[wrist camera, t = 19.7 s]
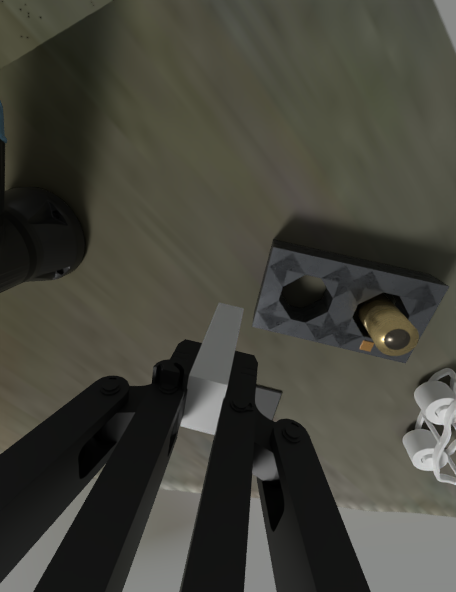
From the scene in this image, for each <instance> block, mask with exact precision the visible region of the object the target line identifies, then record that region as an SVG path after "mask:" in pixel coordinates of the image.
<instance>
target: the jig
mask: <svg viewBox="0 0 456 592" xmlns="http://www.w3.org/2000/svg"><path fill="white" fill-rule="evenodd" d="M304 275H310V276H314V277H319V278H321V279H322V280H323V282H324V284H325V286H326V290H325V293H324V295H323V298H322V299H320V300H318V301H316V302H314V303H312V304H310V305H308V306H306V307H304V308H298V307H294V306H290V305H289V304H288V303H287V301H286V300H285V298H284V296H283V295H282V293H281V291H282V288H283V286H285V285H287V284H289V283H291V282H293V281H295V280H296V279H298V278H300V277H302V276H304ZM448 288H449V286H448V285H446V284H444V283H443V282H441V281H440V280H438V279H437V278H435V277H434V276H432V275H430V274H426V273H422V272H417V271H413V270H408V269H404V268H399V267H395V266H390V265H386V264H381V263H377V262H372V261H368V260H363V259H359V258H354V257H350V256H345V255H341V254H336V253H332V252H328V251H323V250H319V249H314V248H310V247H305V246H301V245H296V244H292V243H287V242H283V241H278V240H274V239H273V242H272V246H271V249H270V253H269V257H268V261H267V265H266V269H265V273H264V276H263V280H262V284H261V288H260V292H259V296H258V299H257V303H256V307H255V311H254V317H253V325H252V327H256V328H260V329H265V330H269V331H273V332H277V333H281V334H285V335H290V336H294V337H298V338H302V339H306V340H310V341H315V342H319V343H323V344H327V345H331V346H335V347H340V348H344V349H348V350H352V351H356V352H360V353H365V354H369V355H373V356H377V357H381V358H385V359H390V360H394V361H398V362H402V363H406V362H407V360H408V358H409V356H410V355H411V353H412V351H413V349H414V348H415V347H414V348H413V349H412V350H411V351H410V352H408V353H406V354H403V355H400V356H389V355H386V354H384V353H382V352H381V351H379V349H378V348H377V347H376V345H375V343H374V342H373V340H372V338H371V337H370V335H369V333H368V331H367V330H366V328H365V326H364V325H363V323H362V322H358V321H354V319H353V318H352V317H353V315H354V312H355V310H356V308H357V305H358V304H360V303H362V302H364V301H366V300H368V299H370V298H372V297H375V296H377V295H379V294H381V293H383V292H384V293H389V294H392V295H393V297H394V299H395V301H396V302H395V304H394V305H395V306H396V307H397V308H398V309H399V310H400V312H401V313H402V314H403V315H404V316H405V317H406V318H407V319H408V320H409V321H410V322H411V323H412V325H413V326H414V327H415V328H416V329H417V331H418V333H419V339H420V337H421V335H422V333H423V332H424V330H425V328H426V326H427V325H428V323H429V321H430V319H431V318H432V316H433V314H434V312H435V311H436V309H437V307H438V305H439V304H440V302H441V300H442V298H443V296H444V295H445V293H446V291H447V289H448ZM418 341H419V340H418Z"/></svg>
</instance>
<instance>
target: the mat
mask: <svg viewBox="0 0 456 592" xmlns="http://www.w3.org/2000/svg"><path fill="white" fill-rule="evenodd" d="M280 397H281V392H280V391H276V390H272V389H268V388H264V387H260V386H256V393H255V404H256V406H257V408H258V410H259V411H260V412H261V413H262V414H263V415H264V416H265V417H267V418H268V419H270V420H272V419H273V416H274V413H275V411H276V408H277V405H278V402H279V399H280Z"/></svg>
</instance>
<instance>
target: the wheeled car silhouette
mask: <svg viewBox="0 0 456 592" xmlns="http://www.w3.org/2000/svg"><path fill="white" fill-rule="evenodd" d="M446 375H449V376H450V377H451V380H450V387H449V386H448V385H447V384H446V383H443V382H441V381H438V380H439V379H440V378H442V377H444V376H446ZM414 398H415V400H416V402H417V403H418V405H419V407H420V408H421V412H420V414H419V416H418V419H417V422H416V425H415V430H411V431H410V432H408V433H406V434H405V435H404V437H403V444H404V446H405V448H406V450H407V452H408V454H409V456H410V459H411V461H412V463H413V465H414V466H415V467H416V468H418V469H420V470H425V471H434V474H435V476H436V478H437V480H438V481H440V482H448V483H451V484H454V485H456V477H453V476H450V475H447V474H439V472H440V470H439V469H440V468H442V467H443V466H445V465H446V463H447V462H448V463H449V464H450V466H451V468H452V469H453V471H454V473H455V474H456V465H455V464H454V462H453V461H452V459H451V457H450V455H451V454H453V453H454V451H455V450H456V440H454V441H453V442H452V443H451V444H450V445H449V447H448V448H447V449H445V450H444V448H445V446H446V445H447V443H448V442H449V440H450V437H451V424H452V425H453V427H454V428H455V429H456V373H455V372H454V371H453V370H452V369H450V368H445V369H442V370H440V371H438V372H436V373H435V374H434V375H432V377H431V378H430V379H429V380H428V382H425V383H423V384H421V385H420V386H419V387H418V388H417V389H416V390H415V392H414ZM424 420H425V422H426V424H427V425H428V427H429V429H430V430H431V431H429V430H425V429H421V427H422V424H423V421H424ZM431 422H432V423H434V424H438V425H444V431H443V434H442V436H441V437H440V435H439V434H438V432H437V430H436V429H435V427H434V426H433V424H432V423H431Z"/></svg>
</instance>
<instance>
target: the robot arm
mask: <svg viewBox="0 0 456 592" xmlns="http://www.w3.org/2000/svg"><path fill="white" fill-rule="evenodd" d="M5 143H7V139H6V137H5V136H4V116H3V106H2V103H1V101H0V293H1V292H3V291H5V290H8V289H10V288H12V287H14V286H16V285H18V284H21V283H23V282H29V281H46V280H54V279H58V278H61V277H63V276H65V275H67V274H69V273H71V272H73V271H74V270H75V269H76V268H77V267H78V266H79V264H80V263H81V261H82V258H83V255H84V249H85V241H84V235H83V231H82V228H81V225H80V223H79V221H78V219H77V217H76V216H75V214H74V213H73V211H72V210H71V209H70V208H69V206H68V205H67V204H66V203H65V202H64V201H62V200H61V199H60V198H59V197H57V196H56V195H54V194H53V193H51V192H49V191H46V190H44V189H41V188H36V187H21V188H13V189H9V190H7V191H5ZM243 311H244V308H240V307H236V306H231V305H227V304H223V303H219V304H218V306H217V309H216V311H215V314H214V316H213V318H212V321H211V323H210V326H209V328H208V331H207V333H206V335H205V338H204V340H203V343H199V342H195V341H190V340H186V339H185V340H184V341H182V342H181V343H179V344H178V346H177V347H176V349H175V352H174V353H173V355H172V357H171V358H170V360H162V361H160V362H158V363H157V364H156V365H155V366H154V367H153V377H152V384H149V385H146V386H129V384H128V382H127V380H125V379H124V378H123V377H119V376H107V377H103V378H101V379H99V380H97V381H96V382H94V383H93V384H92V385H90V386H89V387H88V388H86V389H85V390H84V391H83V392H81V393H80V394H79V395H77V396H76V397H75V398H73V399H72V400H71V401H69V402H68V403H67V404H66V405H64V406H63V407H62V408H60V409H59V410H58V411H56V412H55V413H54V414H53V415H51V416H50V417H49V418H47V419H46V420H45V421H43V422H42V423H41V424H39V425H38V426H37V427H36V428H34V429H33V430H32V431H30V432H29V433H28V434H26V435H25V436H24V437H23V438H21V439H20V440H19V441H17V442H16V443H15V444H13V445H12V446H11V447H9V448H8V449H7V450H6V451H4V452H3V453H2V454H0V583H1V582H2V581H3V579H4V578H5V577H6V576H7V575H8V574H9V573H10V572H11V570H12V569H13V568H14V567H15V566H16V565H17V563H18V562H19V561H20V560H21V559H22V558H23V557H24V556H25V554H26V553H27V552H28V551H29V550H30V548H32V546H33V545H34V544H35V543H36V542H37V541H38V540H39V539H40V537H41V536H42V535H43V534H44V533H45V532H46V531H47V530H48V528H49V527H50V526H51V525H52V524H53V523H54V522H55V520H56V519H57V518H58V517H59V516H60V515H61V514H62V512H63V511H64V510H65V509H66V508H67V507H68V506H69V504H70V503H71V502H72V501H73V500H74V499H75V498H76V496H77V495H78V494H79V493H80V492H81V491H82V490H83V489H84V487H85V486H86V485H87V484H88V483H89V482H90V480H91V479H92V478H93V477H94V476H95V475H96V474H97V473H98V472H99V470H100V469H101V468H102V467H103V466H104V465H105V464H106V465H105V467H104V468H103V470H102V472H101V474H100V475H99V477H98V479H97V481H96V482H95V484H94V486H93V488H92V490H91V491H90V493H89V495H88V496H87V498H86V500H85V502H84V504H83V505H82V507H81V509H80V511H79V512H78V514H77V516H76V518H75V520H74V521H73V523H72V525H71V527H70V528H69V530H68V532H67V533H66V535H65V537H64V539H63V540H62V542H61V544H60V546H59V547H58V549H57V551H56V553H55V555H54V556H53V558H52V560H51V562H50V563H49V565H48V567H47V569H46V570H45V572H44V574H43V576H42V577H41V579H40V581H39V583H38V584H37V586H36V588H35V590H34V592H122V590H123V588H124V585H125V582H126V579H127V576H128V574H129V571H130V567H131V565H132V562H133V559H134V557H135V554H136V551H137V548H138V545H139V543H140V540H141V537H142V534H143V532H144V529H145V526H146V523H147V520H148V518H149V514H150V512H151V509H152V506H153V504H154V501H155V498H156V495H157V492H158V490H159V487H160V484H161V481H162V478H163V476H164V473H165V470H166V467H167V464H168V462H169V459H170V456H171V453H172V450H173V448H174V445H175V442H176V439H177V434H178V429H179V426H180V423H181V426H182V427H186V428H190V429H193V430H197V431H201V432H205V433H209V434H212V435H215V436H214V440H213V444H212V449H211V453H210V457H209V462H208V466H207V471H206V475H205V480H204V484H203V489H202V493H201V498H200V502H199V507H198V512H197V516H196V520H195V524H194V529H193V534H192V538H191V542H190V547H189V551H188V556H187V561H186V565H185V569H184V574H183V578H182V583H181V587H180V591H179V592H244V581H245V567H246V553H247V539H248V524H249V511H250V496H251V482H252V474H254V475H255V476H257V483H258V489H259V495H260V500H261V505H262V511H263V517H264V522H265V528H266V534H267V539H268V545H269V551H270V556H271V562H272V568H273V573H274V579H275V585H276V590H277V592H370V589H369V586H368V584H367V581H366V579H365V576H364V574H363V571H362V569H361V566H360V563H359V561H358V558H357V556H356V553H355V551H354V548H353V546H352V543H351V541H350V538H349V536H348V533H347V531H346V528H345V525H344V523H343V520H342V518H341V515H340V513H339V510H338V508H337V505H336V502H335V500H334V497H333V495H332V492H331V490H330V487H329V485H328V482H327V480H326V477H325V475H324V472H323V469H322V467H321V464H320V462H319V459H318V457H317V454H316V452H315V449H314V447H313V444H312V442H311V439H310V436H309V434H308V433H307V431H306V429H305V428H304V427H303V426H302V425H301V424H299V423H298V422H296V421H294V420H290V419H280V420H279V421H277V422H274V421H272V420H270V419H268V418H267V417H265V416H264V415H263V414H262V413H261V412H260V411H259V410H258V408H257V406H256V404H255V393H256V380H257V367H258V362H257V360H256V358H255V356H254V355H250V354H246V353H242V352H238V351H235V349H236V344H237V339H238V334H239V330H240V325H241V320H242V315H243ZM106 462H107V463H106Z"/></svg>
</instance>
